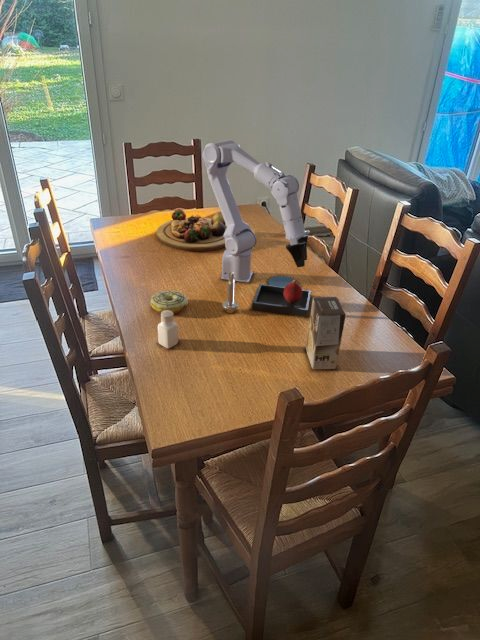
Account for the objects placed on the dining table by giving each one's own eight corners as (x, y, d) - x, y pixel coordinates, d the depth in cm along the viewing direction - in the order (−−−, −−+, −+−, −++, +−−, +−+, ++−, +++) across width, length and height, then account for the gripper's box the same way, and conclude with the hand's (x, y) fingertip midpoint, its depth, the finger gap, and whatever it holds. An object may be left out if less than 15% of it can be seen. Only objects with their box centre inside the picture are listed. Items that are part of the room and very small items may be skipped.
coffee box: (336, 369, 118) (347, 315, 109) (311, 370, 117) (320, 315, 109) (327, 348, 126) (337, 296, 117) (304, 348, 125) (311, 296, 116)
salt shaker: (168, 337, 127) (167, 307, 122) (179, 343, 125) (178, 313, 119) (157, 344, 124) (155, 313, 119) (168, 350, 122) (166, 319, 117)
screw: (240, 314, 139) (224, 315, 137) (235, 306, 142) (220, 307, 141) (241, 274, 132) (225, 276, 130) (237, 267, 135) (221, 268, 134)
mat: (266, 288, 153) (266, 287, 153) (270, 275, 161) (270, 274, 161) (295, 292, 151) (295, 291, 151) (298, 279, 159) (298, 278, 159)
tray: (252, 309, 141) (252, 302, 140) (259, 290, 152) (259, 283, 150) (306, 317, 139) (307, 310, 137) (310, 297, 149) (311, 290, 148)
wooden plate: (147, 227, 194) (145, 207, 190) (217, 218, 206) (218, 200, 202) (170, 257, 170) (170, 236, 165) (249, 246, 182) (250, 225, 177)
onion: (300, 309, 142) (303, 286, 137) (281, 306, 142) (283, 283, 138) (301, 300, 146) (304, 277, 142) (283, 297, 147) (286, 274, 143)
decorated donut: (194, 307, 141) (194, 296, 139) (166, 320, 134) (166, 309, 132) (171, 295, 146) (171, 284, 144) (144, 307, 140) (143, 296, 138)
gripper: (303, 219, 128) (313, 266, 133) (307, 212, 142) (317, 255, 146) (278, 225, 131) (289, 271, 135) (285, 217, 144) (295, 259, 148)
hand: (302, 263), depth 140 cm, fingers open, 7 cm apart
